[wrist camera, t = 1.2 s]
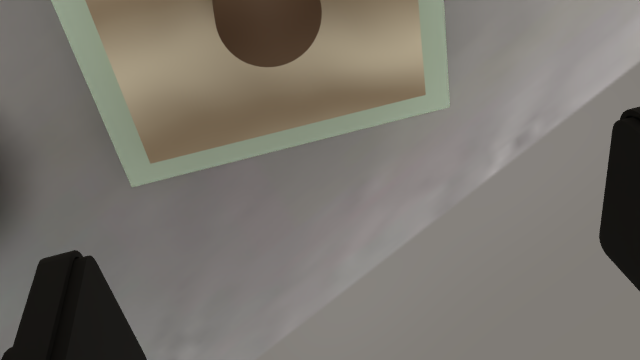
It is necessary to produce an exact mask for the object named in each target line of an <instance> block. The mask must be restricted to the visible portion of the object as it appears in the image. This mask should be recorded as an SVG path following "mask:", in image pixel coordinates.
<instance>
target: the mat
mask: <svg viewBox="0 0 640 360" xmlns="http://www.w3.org/2000/svg"><path fill="white" fill-rule="evenodd" d="M51 1H52V4H53V6H54V8H55V11H56V13H57V15H58V18H59V20H60V22H61V25H62V27H63V29H64V32H65V34H66V36H67V39H68V41H69V43H70V46H71V48H72V50H73V52H74V55H75V57H76V59H77V62H78V64H79V66H80V69H81V71H82V73H83V76H84V78H85V80H86V83H87V85H88V87H89V90H90V92H91V94H92V97H93V99H94V101H95V103H96V106H97V108H98V110H99V113H100V115H101V117H102V120H103V122H104V124H105V127H106V129H107V131H108V134H109V136H110V138H111V141H112V143H113V145H114V148H115V150H116V152H117V155H118V157H119V159H120V161H121V164H122V166H123V168H124V171H125V173H126V175H127V178H128V180H129V182H130V185H131V187H136V186H139V185H143V184H147V183H151V182H155V181H159V180H163V179H167V178H171V177H175V176H179V175H183V174H187V173H191V172H195V171H199V170H203V169H207V168H211V167H215V166H219V165H223V164H227V163H231V162H235V161H239V160H243V159H246V158H250V157H254V156H258V155H262V154H266V153H270V152H274V151H278V150H282V149H286V148H290V147H294V146H298V145H302V144H306V143H310V142H314V141H318V140H322V139H326V138H330V137H334V136H338V135H342V134H346V133H350V132H353V131H357V130H361V129H365V128H369V127H373V126H377V125H381V124H385V123H389V122H393V121H397V120H401V119H405V118H409V117H413V116H417V115H421V114H425V113H429V112H433V111H437V110H441V109H445V108H449V107H450V101H449V83H448V65H447V47H446V29H445V11H444V0H418V4H419V17H420V29H421V42H422V54H423V67H424V79H425V92H426V95H423V96H419V97H415V98H411V99H407V100H403V101H399V102H395V103H391V104H387V105H383V106H379V107H375V108H371V109H367V110H363V111H359V112H355V113H351V114H347V115H343V116H339V117H335V118H331V119H327V120H323V121H319V122H315V123H311V124H307V125H303V126H299V127H295V128H291V129H287V130H283V131H279V132H275V133H271V134H267V135H263V136H259V137H255V138H252V139H248V140H244V141H240V142H236V143H232V144H228V145H224V146H220V147H216V148H212V149H208V150H204V151H200V152H196V153H192V154H188V155H184V156H180V157H176V158H172V159H168V160H164V161H160V162H156V163H152V164H150V162H149V159H148V157H147V154H146V152H145V149H144V147H143V144H142V142H141V139H140V137H139V134H138V132H137V129H136V126H135V124H134V121H133V119H132V116H131V114H130V111H129V109H128V106H127V104H126V101H125V99H124V96H123V94H122V91H121V89H120V86H119V84H118V81H117V79H116V76H115V74H114V71H113V69H112V66H111V64H110V61H109V59H108V56H107V54H106V51H105V49H104V46H103V44H102V41H101V39H100V36H99V34H98V31H97V29H96V26H95V24H94V21H93V19H92V16H91V14H90V11H89V9H88V6H87V4H86V1H85V0H51Z"/></svg>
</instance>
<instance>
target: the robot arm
mask: <svg viewBox="0 0 640 360" xmlns="http://www.w3.org/2000/svg"><path fill="white" fill-rule="evenodd" d="M599 238H600V243H601V246H602V248H603V250H604V252H605V253H606V255H607V256H608V257H609V258H610V259H611V260H612V261H613V262H614V263H615V264H616V266H617V267H618V268H619V269H620V270H621V271H622V272H623V273H624V274H625V276H626V277H627V278H628V279H629V280H630V281H631V282H632V283H633V284H634V285H635V287H636V288H637V289H638V290H639V291H640V107H637V108H633V109H629V110H626V111H625V112H623V114H622V115H621V118H620V120H618V121H617V122H616V123H615V124H614V126H613V130H612V138H611V146H610V154H609V162H608V170H607V178H606V186H605V194H604V202H603V210H602V218H601V226H600V235H599ZM1 360H147V359H146V357H145V354H144V352H143V351H142V349H141V347H140V345H139V343H138V341H137V339H136V337H135V335H134V333H133V331H132V329H131V328H130V326H129V324H128V322H127V320H126V318H125V316H124V314H123V312H122V310H121V308H120V306H119V305H118V303H117V301H116V299H115V297H114V295H113V293H112V291H111V289H110V287H109V285H108V283H107V282H106V280H105V278H104V276H103V274H102V272H101V270H100V268H99V266H98V264H97V262H96V261H95V259H94V258H93V257H92V256H86V257H83V256H82V254H81V253H80V252H78V251H75V250H74V251H70V252H67V253H63V254H59V255H55V256H51V257H47V258H43V259H42V260H40V262H39V264H38V267H37V270H36V273H35V276H34V280H33V283H32V286H31V289H30V293H29V296H28V299H27V302H26V306H25V309H24V312H23V315H22V319H21V322H20V325H19V328H18V332H17V335H16V338H15V341H14V345H13V347H12V348H9V349H8V350H7V351H6V352H5V353H4V355H3V357H2V359H1Z"/></svg>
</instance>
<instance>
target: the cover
mask: <svg viewBox="0 0 640 360" xmlns="http://www.w3.org/2000/svg"><path fill="white" fill-rule="evenodd" d="M85 1H86V4H87V6H88V9H89V11H90V14H91V16H92V19H93V21H94V24H95V26H96V29H97V31H98V34H99V36H100V39H101V41H102V44H103V46H104V49H105V51H106V54H107V56H108V59H109V61H110V64H111V66H112V69H113V71H114V74H115V76H116V79H117V81H118V84H119V86H120V89H121V91H122V94H123V96H124V99H125V101H126V104H127V106H128V109H129V111H130V114H131V116H132V119H133V121H134V124H135V126H136V129H137V132H138V134H139V137H140V139H141V142H142V144H143V147H144V149H145V152H146V154H147V157H148V159H149V162H150V164H152V163H156V162H160V161H164V160H168V159H172V158H176V157H180V156H184V155H188V154H192V153H196V152H200V151H204V150H208V149H212V148H216V147H220V146H224V145H228V144H232V143H236V142H240V141H244V140H248V139H252V138H255V137H259V136H263V135H267V134H271V133H275V132H279V131H283V130H287V129H291V128H295V127H299V126H303V125H307V124H311V123H315V122H319V121H323V120H327V119H331V118H335V117H339V116H343V115H347V114H351V113H355V112H359V111H363V110H367V109H371V108H375V107H379V106H383V105H387V104H391V103H395V102H399V101H403V100H407V99H411V98H415V97H419V96H423V95H426V92H425V79H424V67H423V54H422V42H421V29H420V17H419V4H418V0H85Z"/></svg>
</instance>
